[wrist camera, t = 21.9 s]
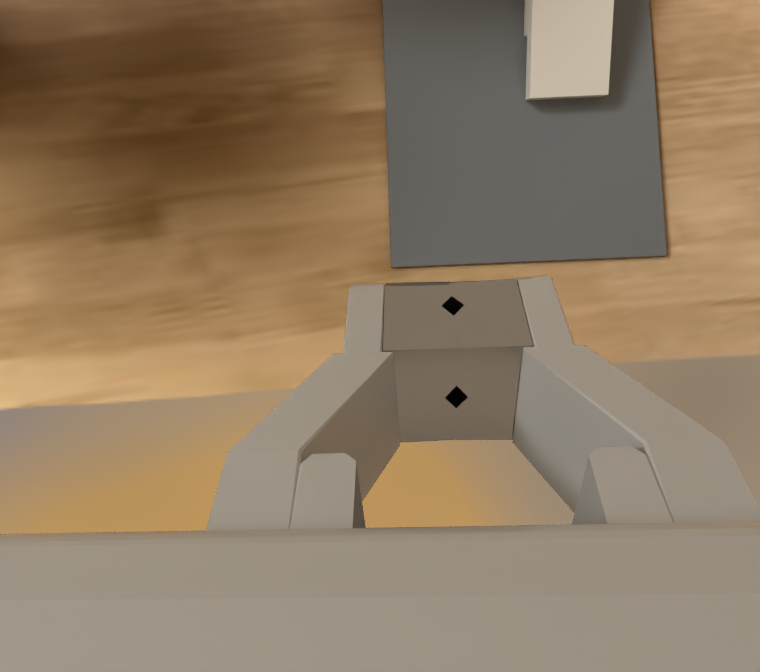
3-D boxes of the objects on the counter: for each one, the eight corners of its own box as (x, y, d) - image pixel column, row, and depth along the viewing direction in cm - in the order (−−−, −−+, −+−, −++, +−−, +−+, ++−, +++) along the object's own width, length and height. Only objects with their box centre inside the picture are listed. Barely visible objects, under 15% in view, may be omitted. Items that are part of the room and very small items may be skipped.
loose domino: (529, 98, 40) (534, -79, 37) (525, 100, 41) (529, -69, 39) (608, 94, 40) (619, -84, 37) (601, 96, 41) (610, -75, 38)
